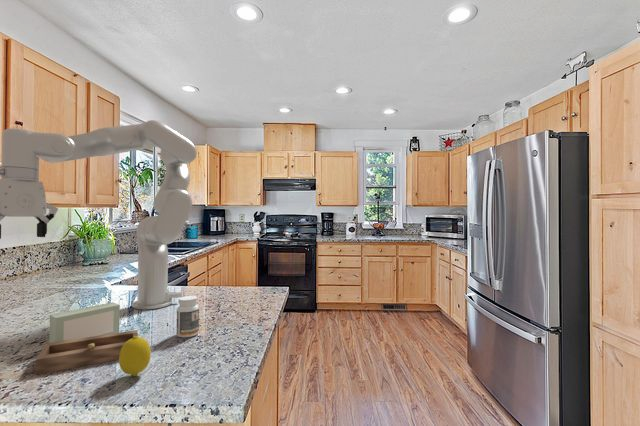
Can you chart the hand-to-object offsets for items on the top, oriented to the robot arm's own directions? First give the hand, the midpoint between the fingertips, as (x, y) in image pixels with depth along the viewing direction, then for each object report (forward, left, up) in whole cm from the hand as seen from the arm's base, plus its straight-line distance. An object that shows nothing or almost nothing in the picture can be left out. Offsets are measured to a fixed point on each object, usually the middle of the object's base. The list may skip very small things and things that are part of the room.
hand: (19, 238), depth 89 cm
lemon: (-27, +43, -26) cm, 57 cm away
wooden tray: (-19, +28, -26) cm, 42 cm away
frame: (-16, +16, -26) cm, 35 cm away
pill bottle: (-40, +24, -26) cm, 53 cm away
